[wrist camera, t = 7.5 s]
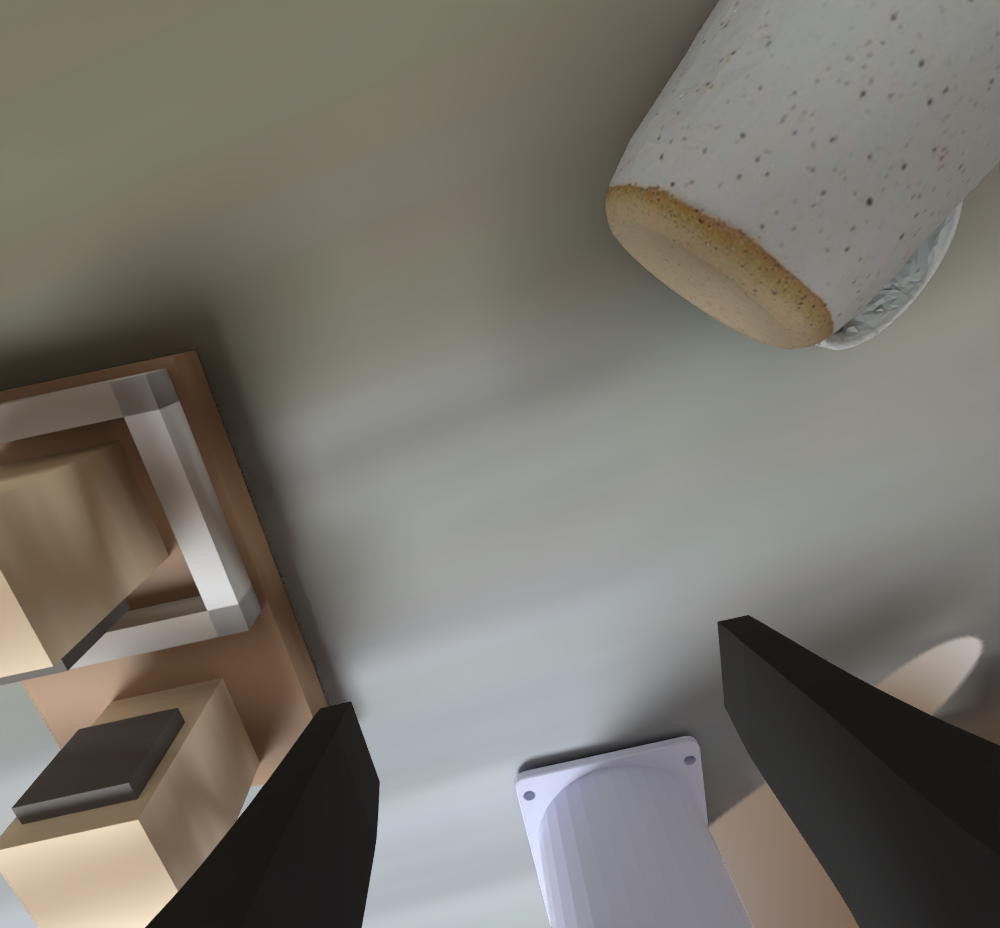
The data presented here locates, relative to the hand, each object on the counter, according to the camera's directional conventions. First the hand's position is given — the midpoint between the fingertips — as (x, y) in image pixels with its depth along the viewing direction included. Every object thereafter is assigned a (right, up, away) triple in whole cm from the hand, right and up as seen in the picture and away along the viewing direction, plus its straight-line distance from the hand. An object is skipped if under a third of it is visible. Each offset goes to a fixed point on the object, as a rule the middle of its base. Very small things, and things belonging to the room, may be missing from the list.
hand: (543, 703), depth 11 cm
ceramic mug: (+8, +13, +7) cm, 17 cm away
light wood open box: (-13, 0, +9) cm, 16 cm away
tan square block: (-14, +3, +7) cm, 16 cm away
